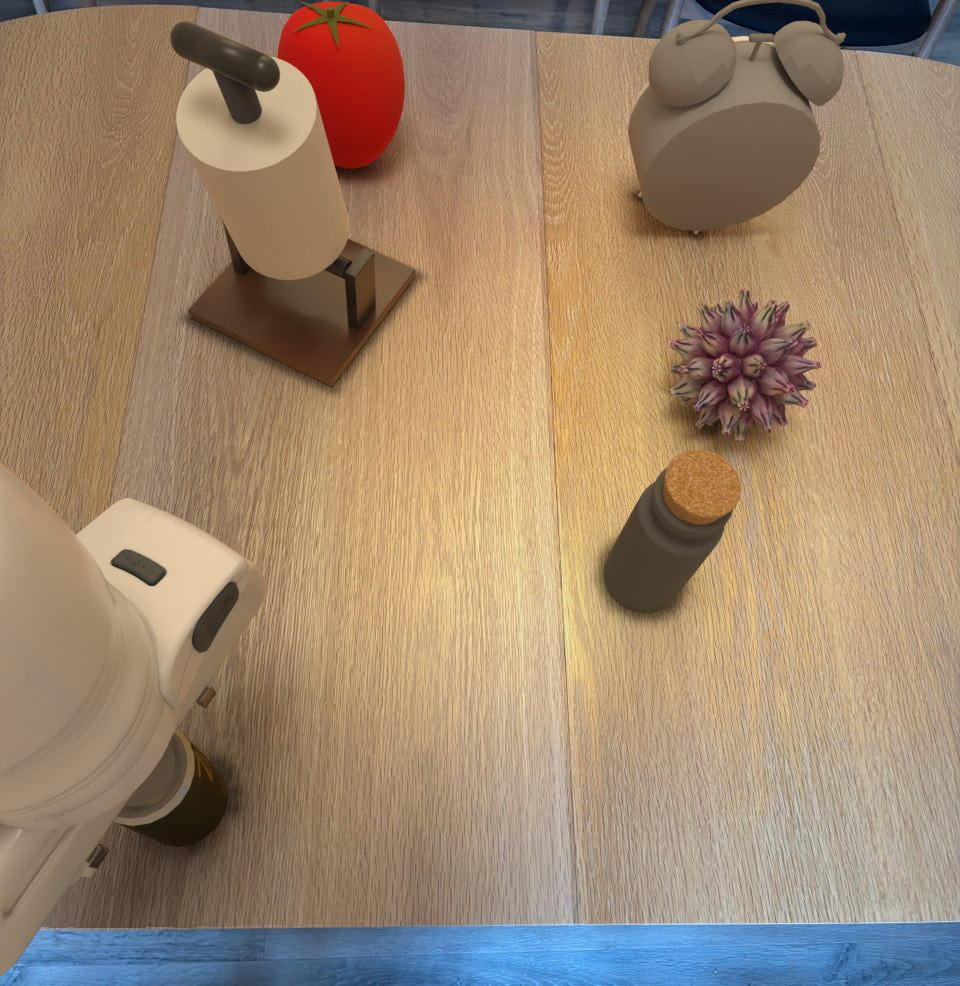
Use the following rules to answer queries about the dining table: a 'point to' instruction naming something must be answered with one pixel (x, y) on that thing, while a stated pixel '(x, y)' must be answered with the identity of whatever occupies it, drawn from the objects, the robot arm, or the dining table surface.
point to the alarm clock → (731, 118)
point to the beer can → (177, 797)
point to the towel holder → (262, 156)
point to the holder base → (305, 309)
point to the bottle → (672, 530)
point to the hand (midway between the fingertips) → (147, 769)
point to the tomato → (348, 76)
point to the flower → (743, 365)
